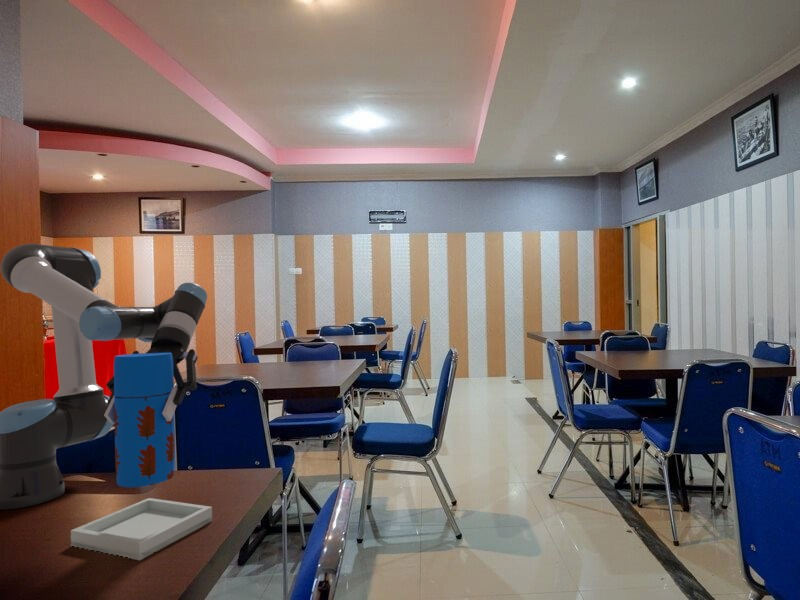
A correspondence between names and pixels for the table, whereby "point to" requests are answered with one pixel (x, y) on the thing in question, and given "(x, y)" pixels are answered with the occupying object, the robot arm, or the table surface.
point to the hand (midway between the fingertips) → (137, 418)
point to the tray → (141, 528)
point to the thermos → (143, 419)
